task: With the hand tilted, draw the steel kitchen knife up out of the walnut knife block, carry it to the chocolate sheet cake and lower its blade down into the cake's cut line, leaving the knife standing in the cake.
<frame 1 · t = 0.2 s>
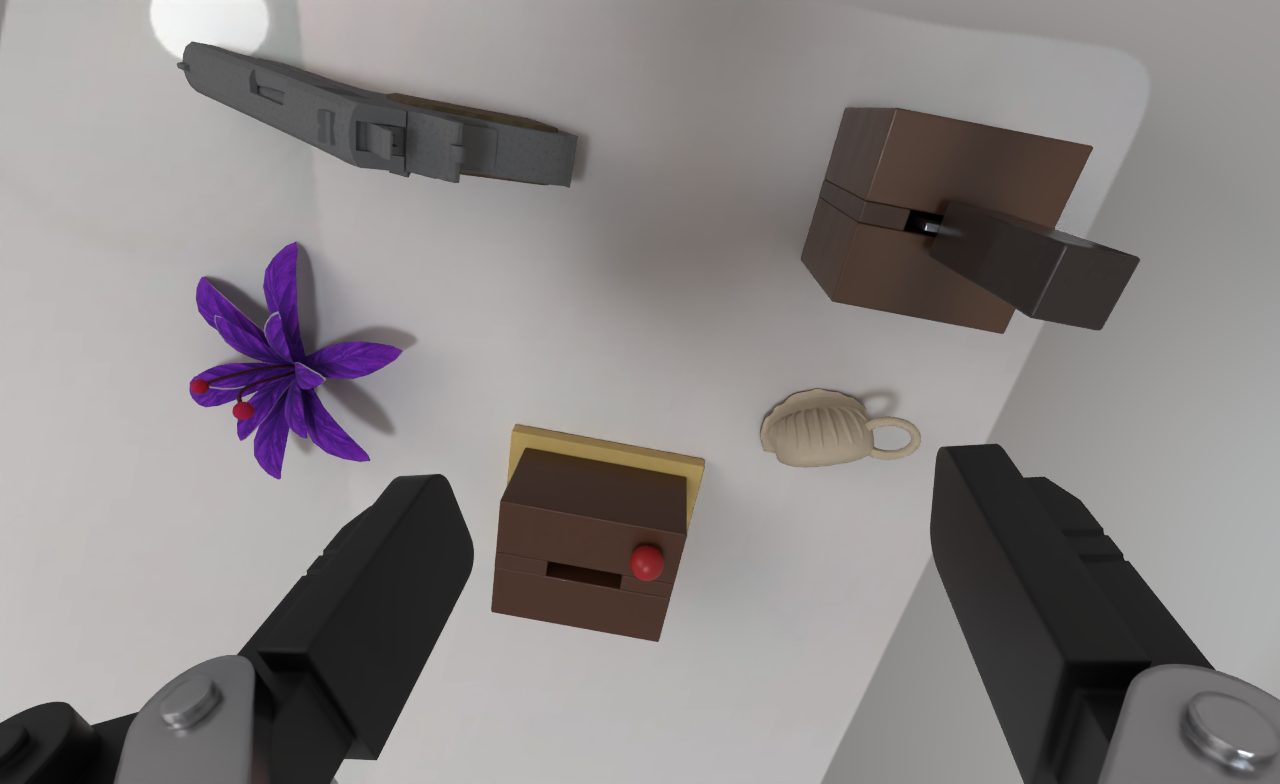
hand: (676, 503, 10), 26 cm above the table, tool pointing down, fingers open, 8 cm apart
decorative flower: (306, 356, 39), on the table
decorative ornament: (821, 417, 38), on the table
handgun: (402, 114, 32), on the table
cake: (598, 505, 42), on the table
knife block: (893, 201, 32), on the table
knife: (958, 231, 24), in the knife block
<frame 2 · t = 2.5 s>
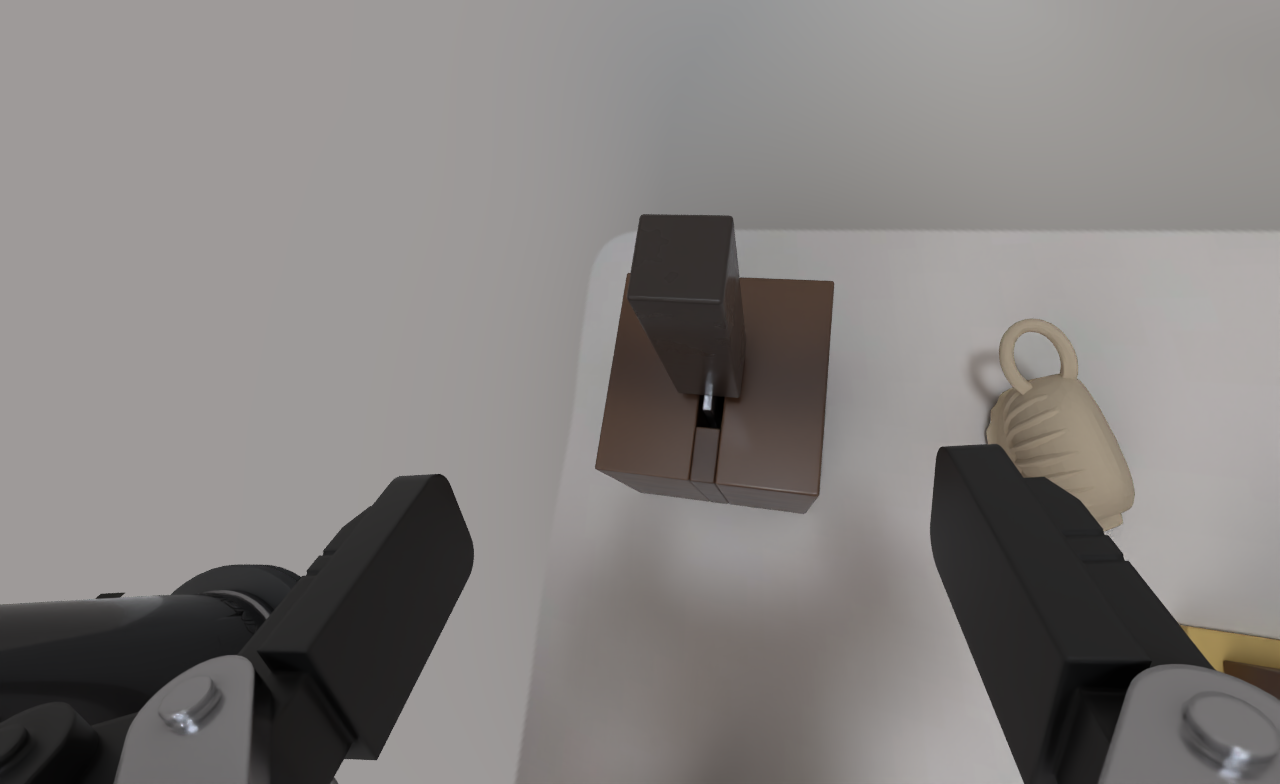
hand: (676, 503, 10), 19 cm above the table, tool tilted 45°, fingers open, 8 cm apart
decorative ornament: (1035, 445, 26), on the table
knife block: (728, 422, 29), on the table
knife: (713, 370, 21), in the knife block
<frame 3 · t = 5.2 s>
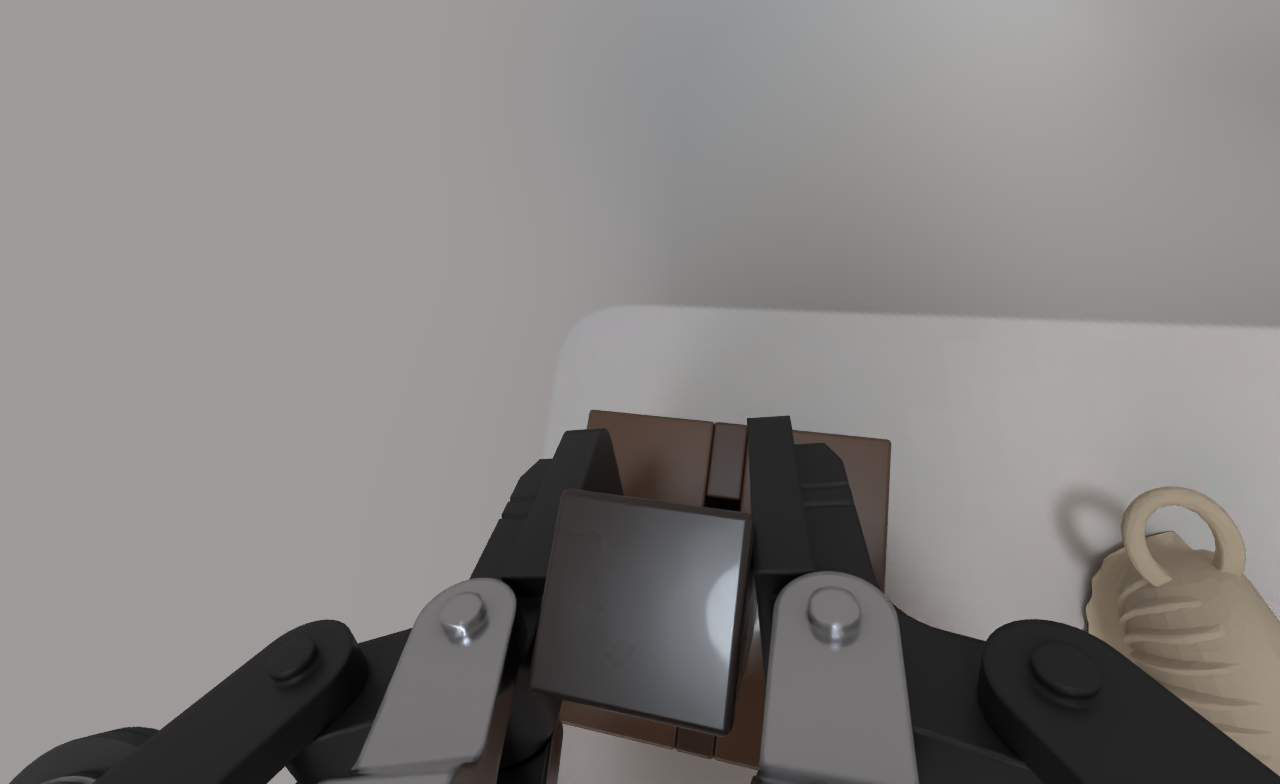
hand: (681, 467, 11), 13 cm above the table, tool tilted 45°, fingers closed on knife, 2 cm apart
decorative ornament: (1154, 628, 19), on the table
knife block: (733, 572, 22), on the table
knife: (712, 578, 14), in the knife block, touching gripper
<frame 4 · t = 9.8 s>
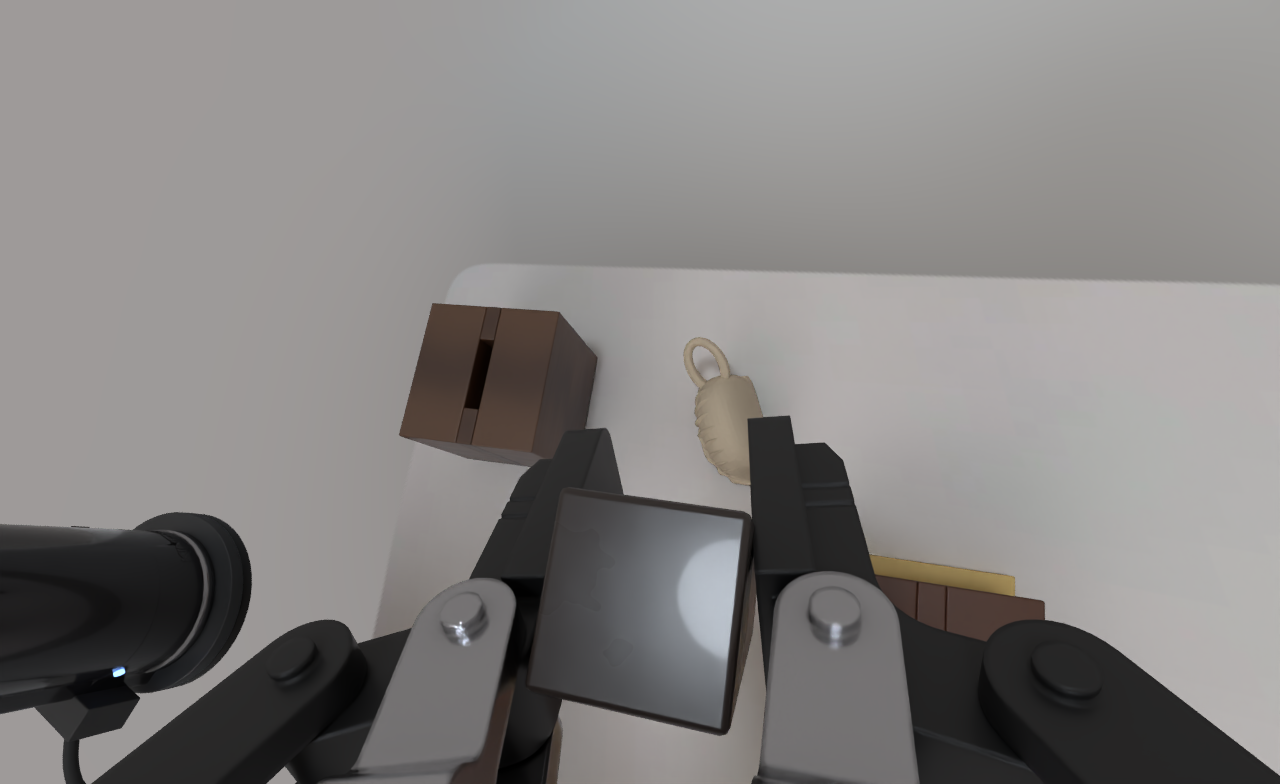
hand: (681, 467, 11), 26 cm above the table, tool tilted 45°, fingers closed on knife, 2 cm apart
decorative ornament: (733, 424, 37), on the table
cake: (893, 683, 32), on the table
knife block: (532, 407, 40), on the table
knife: (711, 578, 14), point 22 cm above the table, touching gripper
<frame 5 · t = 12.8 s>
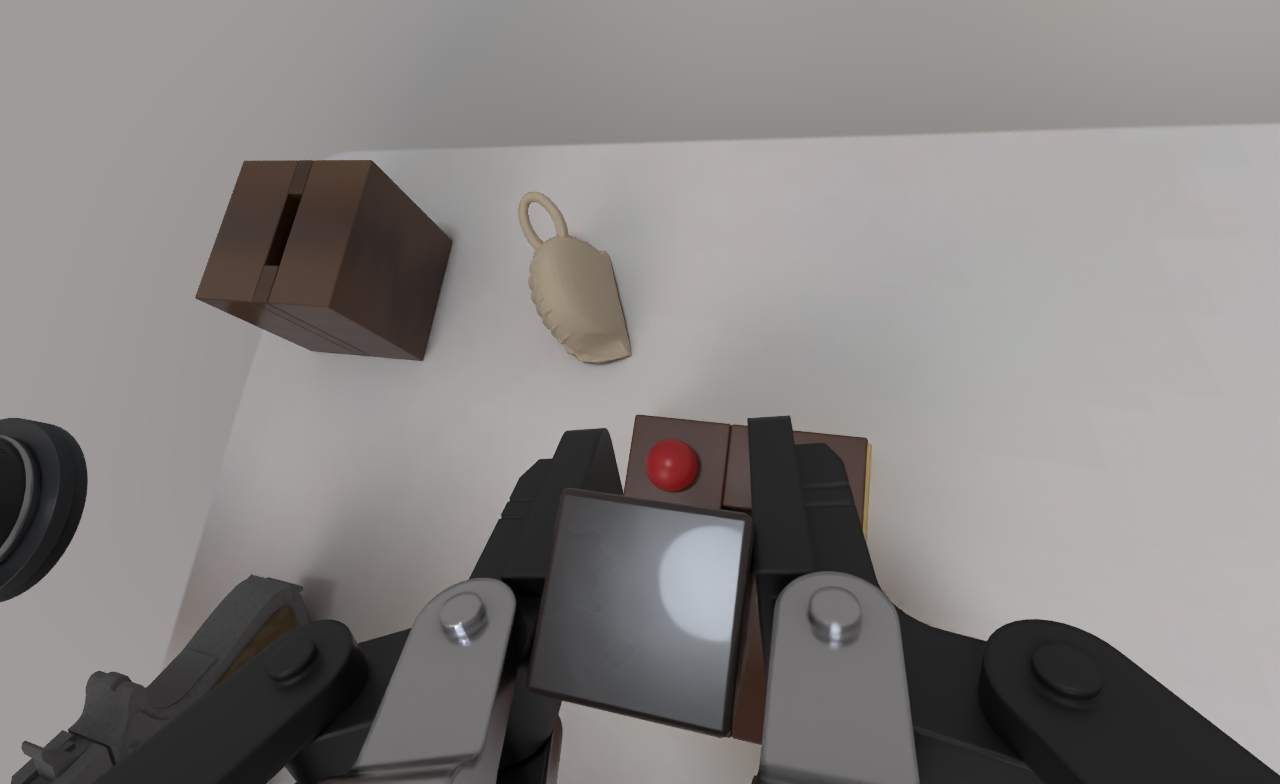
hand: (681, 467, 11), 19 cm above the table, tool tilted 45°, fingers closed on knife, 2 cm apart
decorative ornament: (589, 303, 34), on the table
handgun: (259, 776, 31), on the table
cake: (739, 567, 28), on the table
knife block: (382, 295, 37), on the table
knife: (712, 578, 14), point 15 cm above the table, touching gripper
when the fingers open (14 cm above the table, at t = 14.5 s): knife stays where it is, resting on cake.
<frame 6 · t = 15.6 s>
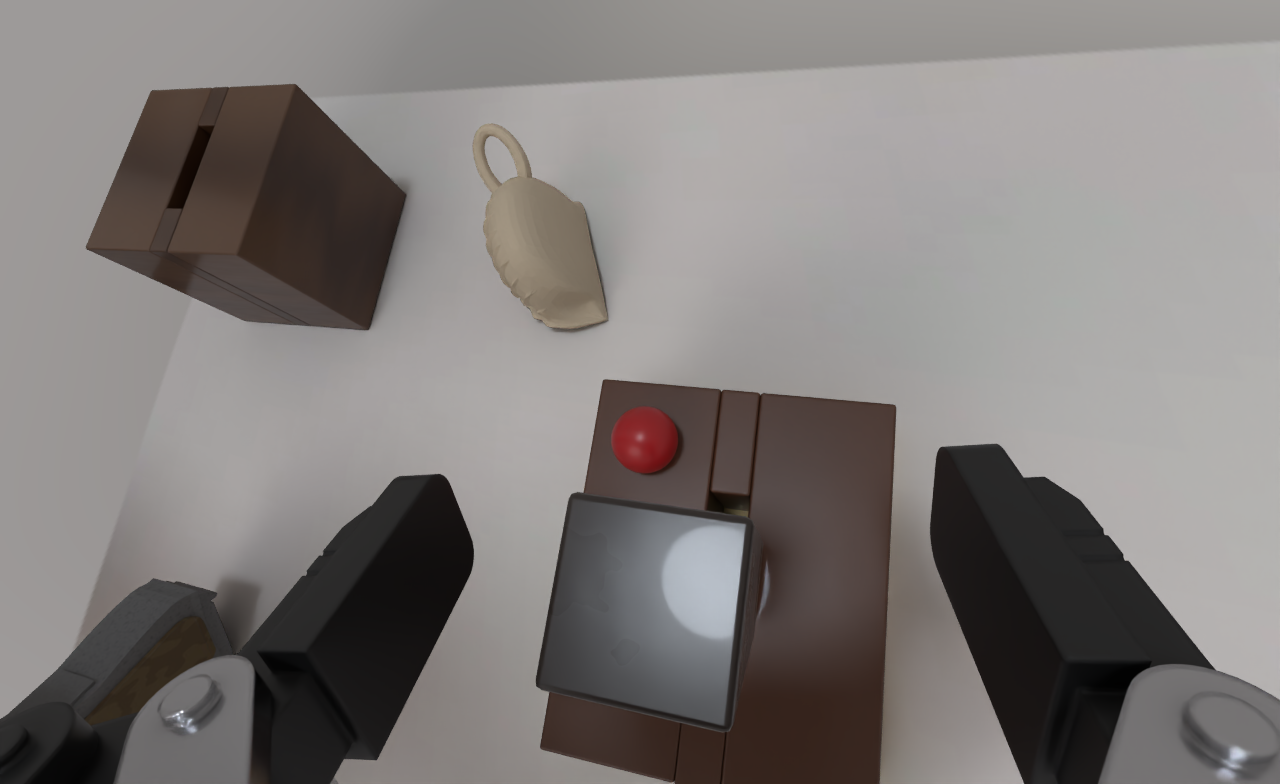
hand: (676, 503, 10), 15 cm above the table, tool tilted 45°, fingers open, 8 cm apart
decorative ornament: (560, 262, 29), on the table
cake: (734, 570, 23), on the table
knife block: (325, 257, 32), on the table
knife: (713, 579, 14), point 10 cm above the table, touching cake
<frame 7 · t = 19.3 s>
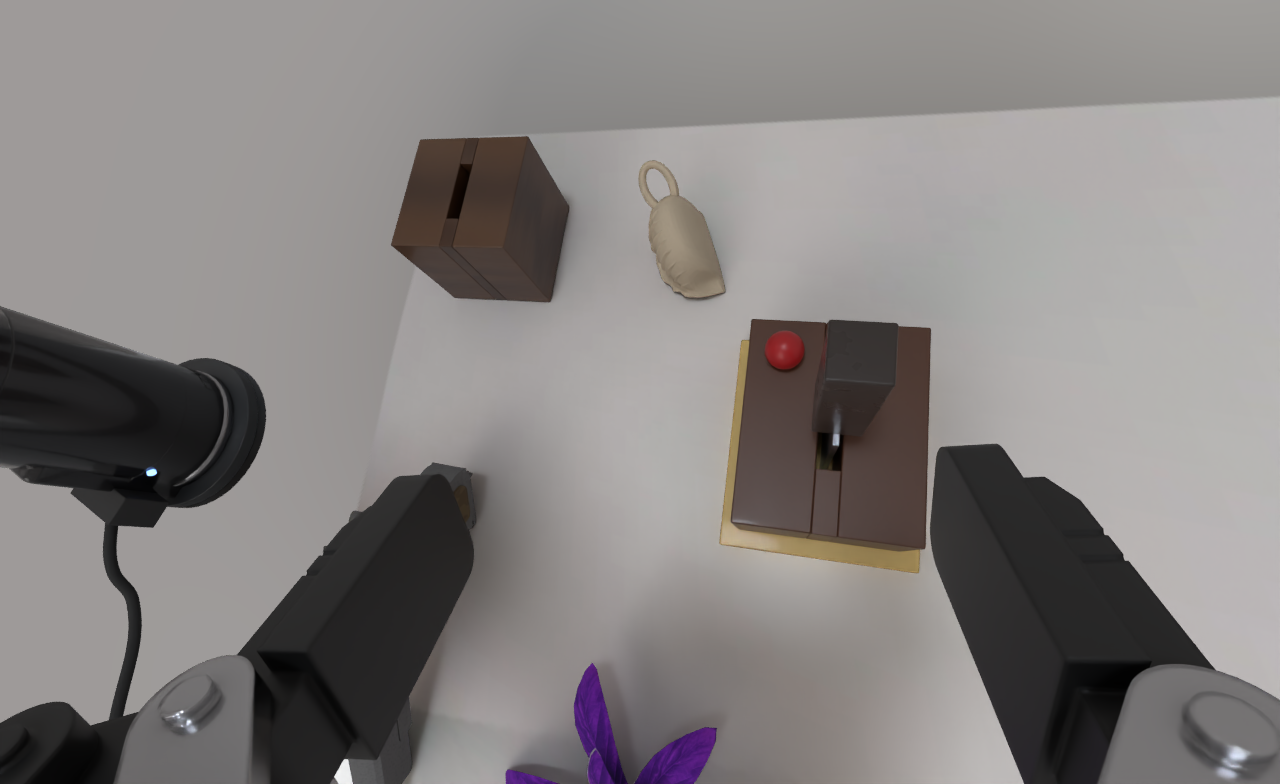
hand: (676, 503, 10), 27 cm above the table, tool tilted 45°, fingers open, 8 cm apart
decorative ornament: (687, 253, 42), on the table
handgun: (436, 624, 39), on the table
cake: (821, 449, 36), on the table
knife block: (512, 252, 45), on the table
knife: (837, 413, 27), point 10 cm above the table, touching cake
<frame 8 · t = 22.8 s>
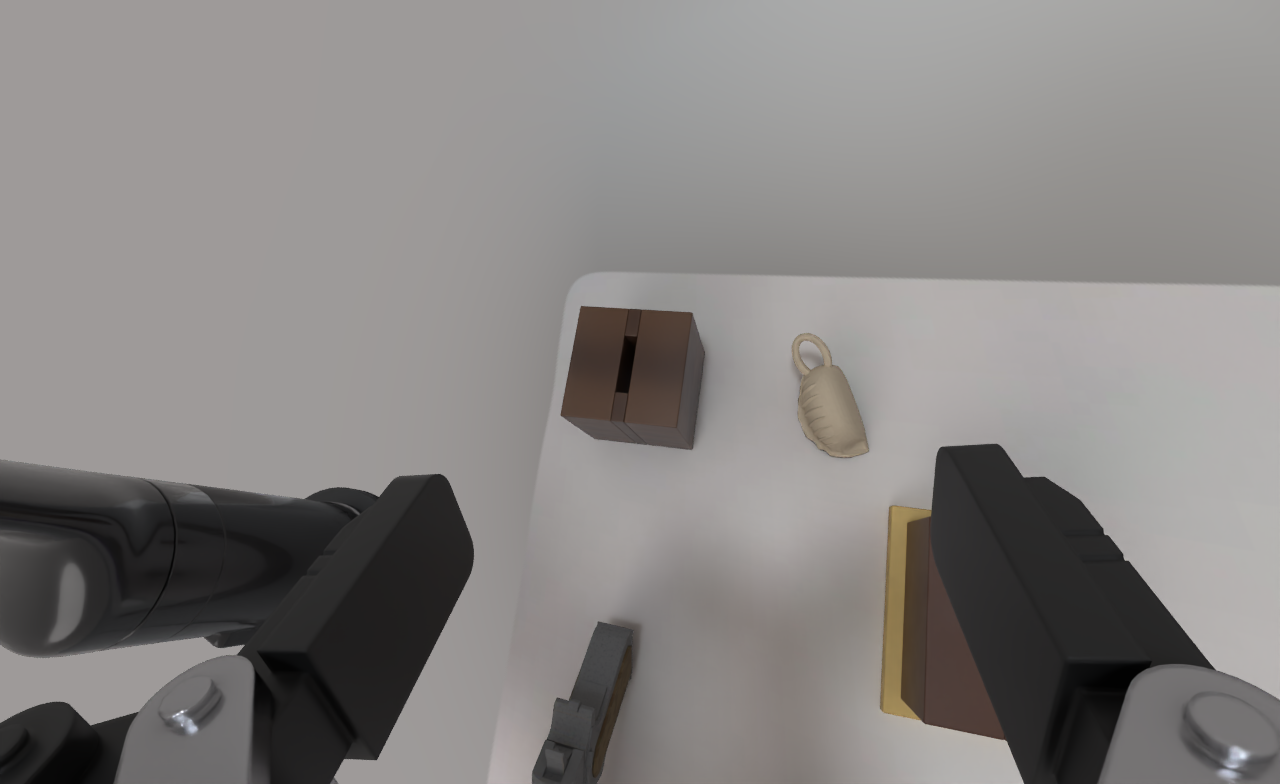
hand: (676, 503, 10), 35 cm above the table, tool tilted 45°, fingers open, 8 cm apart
decorative ornament: (827, 407, 44), on the table
handgun: (598, 773, 41), on the table
cake: (974, 618, 38), on the table
knife block: (649, 395, 47), on the table
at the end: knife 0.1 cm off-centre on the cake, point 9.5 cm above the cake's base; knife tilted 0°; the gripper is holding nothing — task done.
